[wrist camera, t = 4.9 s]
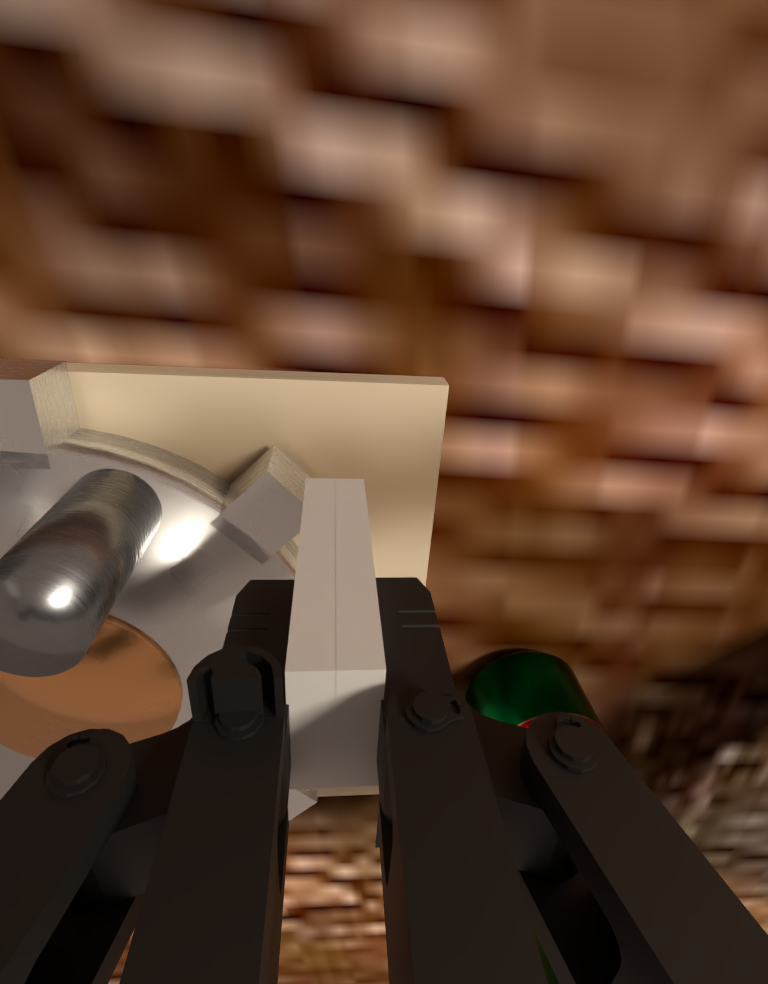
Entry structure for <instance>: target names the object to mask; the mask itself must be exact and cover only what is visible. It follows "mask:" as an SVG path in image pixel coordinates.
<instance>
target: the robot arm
mask: <svg viewBox="0 0 768 984" xmlns="http://www.w3.org/2000/svg"><path fill="white" fill-rule="evenodd" d="M186 681H187V687H188V694H189V700H190V706H191V713H192V718H191V719H190V720H189V721H187V722H185V723H184V724H182V725H180V726H179V727H177V728H175V729H173V730H170V731H168V732H165V733H163V734H160V735H156V736H153V737H150V738H147V739H143V740H140V741H137V742H133V743H130V744H129V742H128V741H127V740H126V738H125V737H124V736H123V735H122V734H120V733H118V732H115V731H113V730H110V729H87V730H84V731H80V732H77V733H73V734H70V735H68V736H66V737H64V738H62V739H61V740H59V741H57V742H55V743H54V744H52V745H50V746H49V747H48V748H46V749H45V750H44V751H43V752H42V753H41V754H40V755H39V756H38V757H37V758H36V759H35V760H34V761H32V763H31V764H30V765H29V766H28V767H27V769H26V770H25V771H24V772H23V773H22V775H21V776H20V777H19V778H18V779H17V781H16V782H15V783H14V784H13V785H12V787H11V788H10V789H9V790H8V791H7V793H6V794H5V795H4V796H3V797H2V799H1V800H0V984H108V982H109V980H110V978H111V976H112V974H113V972H114V970H115V968H116V965H117V963H118V961H119V959H120V957H121V955H122V953H123V951H124V949H125V947H126V945H127V943H128V941H129V939H130V937H131V935H132V933H133V931H134V934H133V937H132V941H131V944H130V948H129V952H128V955H127V959H126V962H125V966H124V970H123V973H122V977H121V980H120V984H277V982H278V968H279V954H280V940H281V926H282V912H283V898H284V884H285V870H286V856H287V842H288V828H289V819H288V798H289V790H290V789H312V788H335V787H357V786H377V779H378V786H379V798H380V801H379V813H378V824H377V836H376V847H380V857H381V871H382V885H383V899H384V913H385V927H386V941H387V956H388V970H389V984H547V980H546V977H545V973H544V969H543V966H542V962H541V959H540V955H539V951H538V948H537V944H536V941H535V937H534V933H533V930H534V932H535V934H536V936H537V938H538V940H539V942H540V944H541V946H542V949H543V951H544V953H545V955H546V957H547V959H548V961H549V963H550V965H551V967H552V969H553V971H554V973H555V975H556V977H557V979H558V982H559V984H768V935H767V934H766V932H765V931H764V930H763V929H762V927H761V926H760V925H759V924H758V922H757V921H756V920H755V919H754V917H753V916H752V915H751V914H750V912H749V911H748V910H747V909H746V907H745V906H744V905H743V904H742V903H741V901H740V900H739V899H738V898H737V896H736V895H735V894H734V893H733V891H732V890H731V889H730V888H729V886H728V885H727V884H726V883H725V881H724V880H723V879H722V878H721V876H720V875H719V874H718V873H717V871H716V870H715V869H714V868H713V866H712V865H711V864H710V863H709V861H708V860H707V859H706V858H705V857H704V855H703V854H702V853H701V852H700V850H699V849H698V848H697V847H696V845H695V844H694V843H693V842H692V840H691V839H690V838H689V837H688V835H687V834H686V833H685V832H684V830H683V829H682V828H681V827H680V825H679V824H678V823H677V822H676V820H675V819H674V818H673V817H672V815H671V814H670V813H669V812H668V811H667V809H666V808H665V807H664V806H663V804H662V803H661V802H660V801H659V799H658V798H657V797H656V796H655V794H654V793H653V792H652V791H651V789H650V788H649V787H648V786H647V784H646V783H645V782H644V781H643V779H642V778H641V777H640V776H639V774H638V773H637V772H636V771H635V770H634V768H633V767H632V766H631V765H630V763H629V762H628V761H627V760H626V758H625V757H624V756H623V755H622V753H621V752H620V751H619V750H618V748H617V747H616V746H615V745H614V743H613V742H612V741H611V740H610V738H609V737H608V736H606V735H605V734H604V733H603V732H602V731H601V730H600V729H599V728H598V727H597V726H596V725H594V724H593V723H591V722H589V721H587V720H585V719H584V718H582V717H580V716H577V715H573V714H569V713H565V712H549V713H544V714H542V715H540V716H539V717H537V718H535V719H533V721H532V722H531V724H530V726H529V727H528V728H525V727H521V726H517V725H513V724H509V723H506V722H502V721H498V720H495V719H492V718H489V717H487V716H485V715H483V714H481V713H479V712H478V711H476V710H474V709H473V708H472V707H471V706H470V705H468V703H467V701H466V699H465V698H464V697H463V696H462V695H460V694H459V693H458V692H457V689H456V687H455V684H454V682H453V678H452V674H451V670H450V666H449V662H448V659H447V655H446V651H445V647H444V643H443V639H442V635H441V632H440V628H439V624H438V620H437V616H436V613H435V608H434V605H433V601H432V597H431V593H430V591H429V590H428V589H427V588H426V587H425V586H424V585H423V584H422V582H421V581H420V580H419V579H418V578H417V577H385V578H375V569H374V561H373V552H372V544H371V535H370V526H369V518H368V509H367V501H366V492H365V484H364V479H332V478H306V481H305V491H304V500H303V509H302V518H301V527H300V537H299V546H298V555H297V564H296V573H295V580H250V581H249V582H248V583H247V584H246V585H245V586H244V587H243V589H242V590H241V591H240V592H239V593H238V594H237V595H236V598H235V602H234V606H233V610H232V616H231V618H230V621H229V625H228V632H227V633H226V637H225V641H224V644H223V648H222V649H221V650H218V651H216V652H214V653H211V654H209V655H207V656H206V657H205V658H204V659H202V660H201V661H200V662H199V663H198V664H196V665H195V666H194V668H193V669H192V671H191V673H190V675H189V676H188V678H187V680H186ZM135 926H136V927H135ZM134 928H135V930H134ZM532 928H533V930H532Z"/></svg>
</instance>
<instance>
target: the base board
mask: <svg viewBox="0 0 768 984" xmlns="http://www.w3.org/2000/svg"><path fill="white" fill-rule="evenodd" d="M66 365H67V369H68V374H69V379H70V383H71V388H72V393H73V397H74V402H75V407H76V412H77V416H78V421H79V426H80V428H86V429H91V430H96V431H101V432H106V433H111V434H116V435H121V436H125V437H128V438H132V439H135V440H138V441H141V442H144V443H148V444H151V445H154V446H157V447H160V448H163V449H165V450H167V451H170V452H172V453H174V454H177V455H179V456H181V457H184V458H186V459H188V460H190V461H193V462H195V463H197V464H199V465H201V466H202V467H204V468H206V469H208V470H209V471H211V472H213V473H215V474H216V475H218V476H220V477H221V478H223V479H225V480H227V481H228V482H230V483H231V484H232V483H233V482H234V481H235V480H236V479H237V478H239V477H240V476H241V475H242V474H243V473H244V472H245V471H246V470H247V469H248V468H249V467H250V466H252V465H253V464H254V463H255V462H256V461H257V460H258V459H259V458H260V457H261V456H262V455H263V454H265V453H266V452H267V451H268V450H269V449H270V448H271V447H272V446H273V445H274V444H275V445H276V446H277V447H278V448H279V449H280V450H282V451H283V452H284V453H285V454H286V455H287V456H288V457H289V458H290V459H291V460H292V461H294V462H295V463H296V464H297V465H298V466H299V467H300V468H301V469H302V470H303V471H305V472H306V473H307V474H308V475H309V476H310V477H311V478H332V479H364V484H365V492H366V501H367V509H368V518H369V526H370V535H371V544H372V552H373V561H374V569H375V578H385V577H417V578H418V579H419V580H420V581H421V582H422V584H423V585H424V586H425V585H426V577H427V568H428V560H429V551H430V543H431V534H432V526H433V517H434V509H435V500H436V492H437V483H438V475H439V466H440V458H441V449H442V441H443V432H444V424H445V415H446V407H447V399H448V390H449V385H448V383H447V382H446V381H445V379H444V378H443V377H426V376H400V375H374V374H348V373H322V372H296V371H271V370H245V369H219V368H193V367H167V366H141V365H115V364H89V363H66ZM299 537H300V533H299V534H297V535H296V536H295V537H294V538H293V539H292V540H293V541H294V542H295V543H296V545H297V546H299ZM371 794H379V786H378V779H377V786H357V787H335V788H318V797H324V796H347V795H371Z"/></svg>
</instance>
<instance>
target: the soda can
mask: <svg viewBox="0 0 768 984" xmlns="http://www.w3.org/2000/svg"><path fill="white" fill-rule="evenodd" d="M465 699H466V701H467V703H468V705H470V706H471V707H472V708H473V709H474V710H476V711H478V712H479V713H481V714H483V715H485V716H487V717H489V718H492V719H495V720H498V721H502V722H506V723H509V724H513V725H517V726H521V727H525V728H528V727H529V726H530V724H531V722H532V721H533V719H535V718H537V717H539V716H540V715H542V714H544V713H549V712H565V713H569V714H573V715H577V716H580V717H582V718H584V719H585V720H587V721H589V722H591V723H593V724H594V725H596V726H597V727H598V728H599V729H600V730H601V731H602V732H603V733H604V734H605V735H606V736H607V734H606V732H605V730H604V728H603V727H602V725H601V723H600V721H599V719H598V717H597V715H596V713H595V711H594V710H593V708H592V706H591V704H590V702H589V700H588V698H587V696H586V694H585V693H584V691H583V689H582V687H581V685H580V683H579V681H578V679H577V678H576V676H575V674H574V672H573V670H572V669H571V667H570V666H569V665H568V664H567V663H566V662H564V661H563V660H562V659H560V658H558V657H556V656H553V655H550V654H547V653H543V652H538V651H532V650H522V651H515V652H510V653H507V654H504V655H501V656H499V657H497V658H495V659H493V660H492V661H490V662H489V663H487V664H486V665H485V666H484V667H483V668H482V669H481V670H480V671H479V672H478V673H477V674H476V676H475V677H474V679H473V680H472V682H471V683H470V685H469V688H468V690H467V693H466V697H465ZM532 930H533V928H532ZM533 933H534V937H535V941H536V944H537V948H538V951H539V955H540V959H541V962H542V966H543V969H544V973H545V977H546V980H547V984H559V982H558V979H557V977H556V975H555V973H554V971H553V969H552V967H551V965H550V963H549V961H548V959H547V957H546V955H545V953H544V951H543V949H542V946H541V944H540V942H539V940H538V938H537V936H536V934H535V932H534V930H533Z"/></svg>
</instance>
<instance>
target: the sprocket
mask: <svg viewBox="0 0 768 984" xmlns="http://www.w3.org/2000/svg"><path fill="white" fill-rule="evenodd" d="M306 478H311V477H310V476H309V475H308V474H307V473H306V472H305V471H303V470H302V469H301V468H300V467H299V466H298V465H297V464H296V463H295V462H294V461H292V460H291V459H290V458H289V457H288V456H287V455H286V454H285V453H284V452H283V451H282V450H280V449H279V448H278V447H277V446H276V445H275V444H274V445H273V446H272V447H271V448H270V449H269V450H268V451H267V452H266V453H265V454H263V455H262V456H261V457H260V458H259V459H258V460H257V461H256V462H255V463H254V464H253V465H252V466H250V467H249V468H248V469H247V470H246V471H245V472H244V473H243V474H242V475H241V476H240V477H239V478H237V479H236V480H235V481H234V482H233V483H232V484H231V483H230V482H228V481H227V480H225V479H223V478H221V477H220V476H218V475H216V474H215V473H213V472H211V471H209V470H208V469H206V468H204V467H202V466H201V465H199V464H197V463H195V462H193V461H190V460H188V459H186V458H184V457H181V456H179V455H177V454H174V453H172V452H170V451H167V450H165V449H163V448H160V447H157V446H154V445H151V444H148V443H144V442H141V441H138V440H135V439H132V438H128V437H125V436H121V435H116V434H111V433H106V432H101V431H96V430H91V429H86V428H80V426H79V421H78V416H77V412H76V407H75V402H74V397H73V393H72V388H71V383H70V379H69V374H68V369H67V365H66V361H50V360H24V359H0V800H1V799H2V797H3V796H4V795H5V794H6V793H7V791H8V790H9V789H10V788H11V787H12V785H13V784H14V783H15V782H16V781H17V779H18V778H19V777H20V776H21V775H22V773H23V772H24V771H25V770H26V769H27V767H28V766H29V765H30V764H31V763H32V761H34V760H35V759H36V758H37V757H38V756H39V755H40V754H41V753H42V752H43V751H44V750H45V749H46V748H48V747H49V746H50V745H52V744H54V743H55V742H57V741H59V740H61V739H62V738H64V737H66V736H68V735H70V734H73V733H77V732H80V731H84V730H87V729H110V730H113V731H115V732H118V733H120V734H122V735H123V736H124V737H125V738H126V740H127V741H128V742H129V744H130V743H133V742H137V741H140V740H143V739H147V738H150V737H153V736H156V735H160V734H163V733H165V732H168V731H170V730H173V729H175V728H177V727H179V726H180V725H182V724H184V723H185V722H187V721H189V720H190V719H191V718H192V713H191V706H190V700H189V694H188V687H187V681H186V680H187V678H188V676H189V675H190V673H191V671H192V669H193V668H194V666H195V665H196V664H198V663H199V662H200V661H201V660H202V659H204V658H205V657H206V656H207V655H209V654H211V653H214V652H216V651H218V650H221V649H222V648H223V644H224V641H225V637H226V633H227V632H228V625H229V621H230V618H231V616H232V610H233V606H234V602H235V598H236V595H237V594H238V593H239V592H240V591H241V590H242V589H243V587H244V586H245V585H246V584H247V583H248V582H249V581H250V580H295V573H296V564H297V555H298V546H297V545H296V543H295V542H294V541H293V540H292V539H293V538H294V537H295V536H296V535H297V534H299V533H300V527H301V518H302V509H303V500H304V491H305V481H306ZM317 798H318V788H312V789H290V790H289V798H288V819H289V821H290V820H291V819H293V818H294V817H296V816H297V815H299V814H300V813H302V812H303V811H305V810H306V809H308V808H309V807H311V806H312V805H314V804H315V803H317Z"/></svg>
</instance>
